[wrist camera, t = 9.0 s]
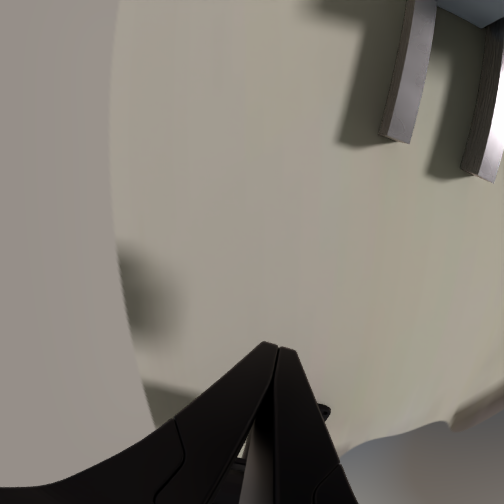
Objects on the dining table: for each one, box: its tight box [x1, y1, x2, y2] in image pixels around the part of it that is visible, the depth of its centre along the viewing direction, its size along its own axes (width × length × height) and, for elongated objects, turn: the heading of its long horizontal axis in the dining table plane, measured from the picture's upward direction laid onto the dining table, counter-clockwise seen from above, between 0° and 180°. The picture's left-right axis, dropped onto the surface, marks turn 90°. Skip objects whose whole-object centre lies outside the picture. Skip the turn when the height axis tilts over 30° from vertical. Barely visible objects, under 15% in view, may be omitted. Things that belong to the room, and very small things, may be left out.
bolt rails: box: [378, 0, 504, 183], centre depth 11 cm, size 12×7×2 cm, turn 167°
